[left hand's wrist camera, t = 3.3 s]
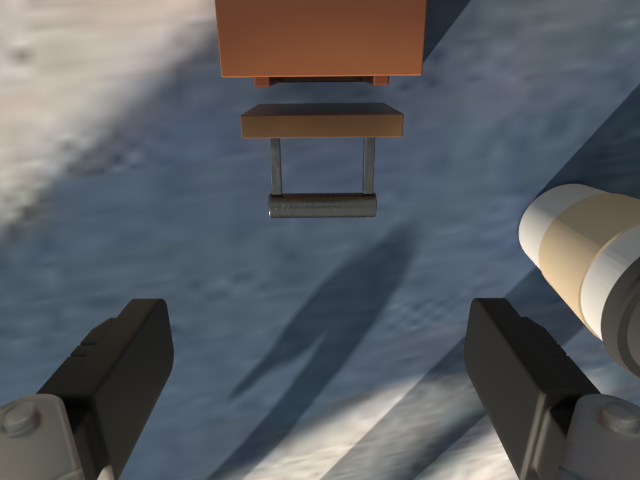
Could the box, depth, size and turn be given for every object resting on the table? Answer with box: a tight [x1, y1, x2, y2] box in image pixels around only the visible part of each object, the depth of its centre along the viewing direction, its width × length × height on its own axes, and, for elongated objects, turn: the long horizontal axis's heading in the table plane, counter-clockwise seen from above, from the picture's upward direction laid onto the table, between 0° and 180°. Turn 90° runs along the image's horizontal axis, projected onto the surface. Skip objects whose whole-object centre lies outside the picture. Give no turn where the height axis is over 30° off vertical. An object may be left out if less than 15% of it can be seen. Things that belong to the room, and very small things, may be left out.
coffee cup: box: [519, 184, 640, 379], centre depth 27 cm, size 9×9×15 cm
